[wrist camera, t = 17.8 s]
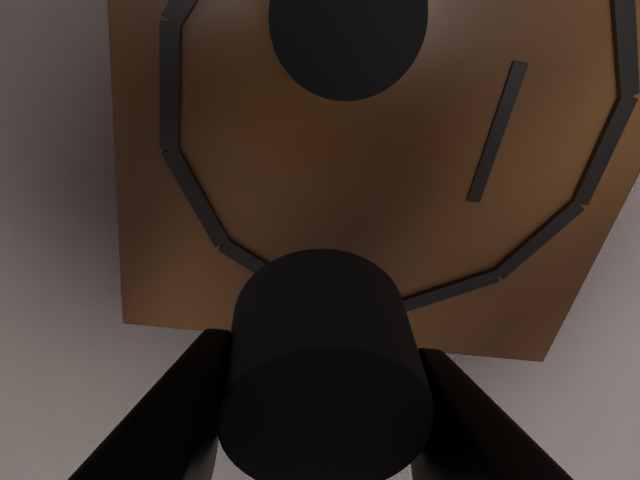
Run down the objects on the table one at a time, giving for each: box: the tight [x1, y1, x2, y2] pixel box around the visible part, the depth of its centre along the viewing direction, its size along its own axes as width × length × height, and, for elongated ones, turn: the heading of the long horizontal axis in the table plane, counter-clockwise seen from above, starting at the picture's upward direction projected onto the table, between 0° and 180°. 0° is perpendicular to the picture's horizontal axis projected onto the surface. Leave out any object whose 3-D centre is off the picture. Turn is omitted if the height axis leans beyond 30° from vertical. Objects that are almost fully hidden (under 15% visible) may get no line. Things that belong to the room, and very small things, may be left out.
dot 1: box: [268, 0, 428, 102], centre depth 11 cm, size 3×3×2 cm
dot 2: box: [217, 249, 435, 480], centre depth 8 cm, size 3×3×2 cm
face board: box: [108, 0, 640, 362], centre depth 14 cm, size 15×16×1 cm
